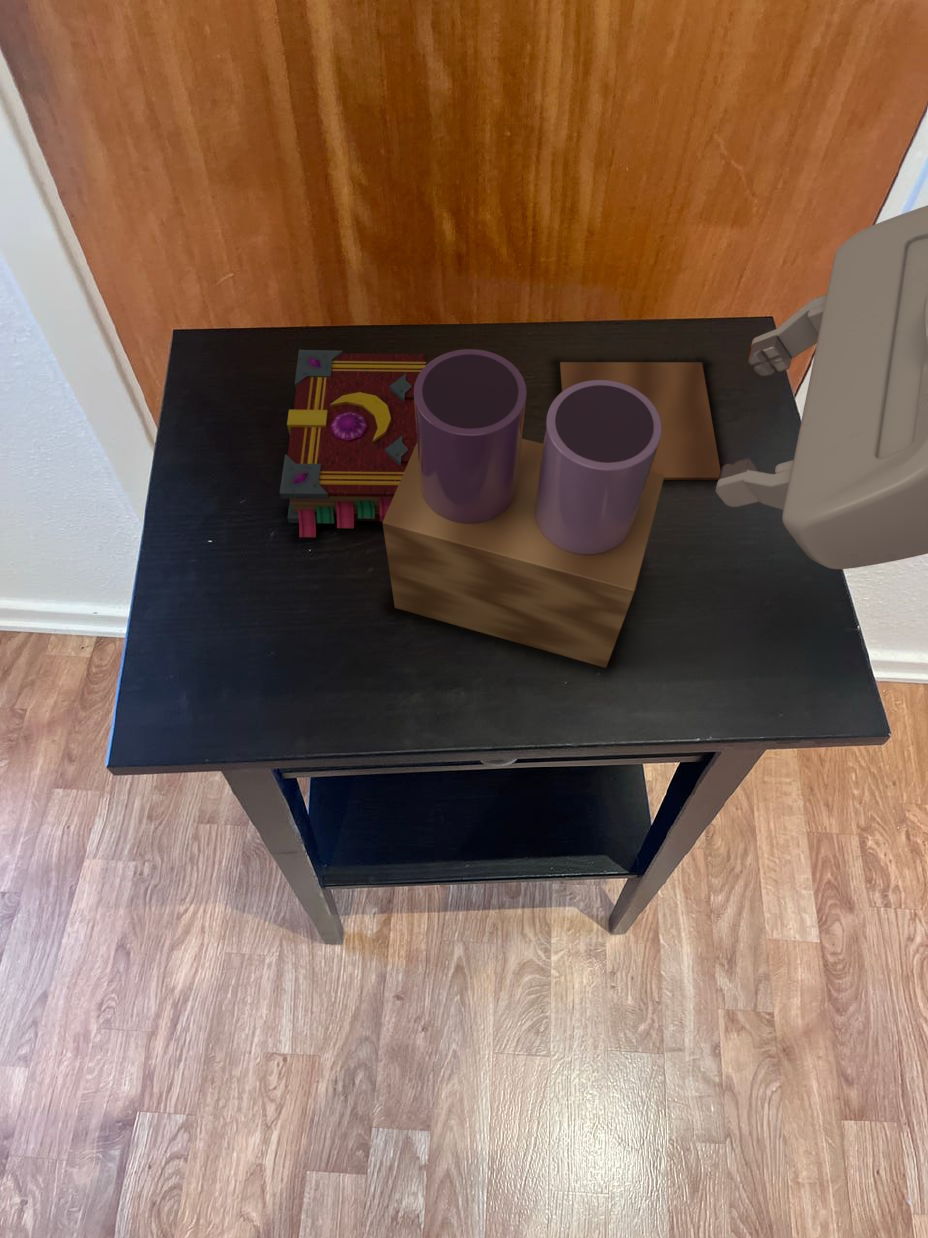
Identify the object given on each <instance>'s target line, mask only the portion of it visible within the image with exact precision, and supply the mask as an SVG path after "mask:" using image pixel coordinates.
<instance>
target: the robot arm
mask: <svg viewBox="0 0 928 1238" xmlns="http://www.w3.org/2000/svg"><path fill="white" fill-rule="evenodd" d="M833 255H834V256H833V260H832V265H831V270H830V276H829V281H828V285H827V292H826V294H823V295H821V296H818V297H816V298H813V299H811V300H810V301H808V302H807V303H805V305H803V306H802V307H801V308H799V309H798V310H797V311H796V312H794V313H793V314H792V316H790V317H789V318H788V319H786V320H785V321H784V322H783V323H782V324H780V325H779V327H778V328H775V329H773V330H770V331H768V332H765V333H763V334H759V335H758V336H755V337H754V338H753V339H752V342H751V346H750V348H749V353H748V357H747V361H748V362H747V363H748V364H749V365H750V367H752V368H753V371H754V373H755V374H756V375H757V376H759V377H762V378H767V377H769V376H772V375H773V374H775V373H781V372H784V371H787V370H790V367H791V364H792V361H793V359H794V358H796V357H797V356H799V355H800V354H802V353H804V352H806V350H808V349H810V348H812V347H813V346H815V350H814V354H813V355H814V356H813V360H812V366H811V371H810V376H809V381H808V386H807V390H806V391H807V392H806V396H805V401H804V406H803V411H802V417H801V421H800V427H799V431H798V436H797V440H796V441H797V442H796V446H795V452H794V455H793V459H791V460H788V461H784V462H781V463H777V465H775V468H774V473H770V472H769V473H768V472H763V471H759V470H757V467H756V465H755V464H754V462H753V461H752V460H751V459H750V458H749V457H747V458H743V459H740V460H736V461H735V462H734V463H732V464H731V463H726V464H724V465H722V466H721V467H720V470H721V472H720V475H719V479H718V480H717V483H716V486H715V493H716V495H717V496H718V498H719V499H720V500H721V501H722V502H723V503H724V504H725V505H726V506H728V507H731V508H738V507H742V506H746V505H751V504H755V503H760V504H762V505H766V506H769V507H772V508H775V509H777V510H781V511H782V517H781V518H782V519H781V521H782V524H783V525H784V528H785V529H786V531H787V532H788V533H789V534H790V536H791V538H792V539H793V540H794V541H795V542H796V544H797V545H798V546H799V548H800V549H801V550H802V551H803V552H804V553H805V555H806V556H807V557H808V558H809V559H810V560H812V561H814V562H815V563H817V564H819V565H821V566H823V567H825V568H827V569H831V570H849V569H856V568H862V567H863V568H864V567H869V566H874V565H881V564H886V563H891V562H896V561H901V560H906V559H911V558H915V557H919V556H923V555H928V204H927V205H924V206H921V207H919V208H915V209H913V210H910V211H907V212H904V213H901V214H899V215H896V216H893V217H890V218H888V219H886V220H883V221H880V222H878V223H875V224H873V225H870V226H867V227H865V228H863V229H861V230H859V231H857V232H855V233H854V234H853V235H852V236H850V237H849V238H848V239H847V240H846V241H844V242H843V243H842V244H840V246H839V247H838V248H836V251H835V252H834V254H833Z"/></svg>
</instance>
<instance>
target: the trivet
mask: <svg viewBox="0 0 928 1238" xmlns="http://www.w3.org/2000/svg"><path fill="white" fill-rule="evenodd" d="M559 372H560V373H559V374H560V387H561V392H563V391H564V390H566V389H567V388H569V387H571V386H573V385H575V384H578V383H581V382H585V381H591V380H608V381H615V382H619V383H622V384H625V385H628V386H630V387H632V388H634V389H636V390H637V391H639V392H641V393H642V394H643V395H644V396H646V397H647V398H648V399H649V400H650V401H651V402H652V404H653V405H654V406H655V408H656V410H657V411H658V414H659V416H660V419H661V424H662V434H661V439H660V442H659V445H658V448H657V451H656V455H655V458H654V461H653V464H652V467H651V470H650V471H653V472H657V473H661V474H664V475H665V476H664V480H663V481H718V479H719V475H720V472H721V466H720V464H721V463H720V460H719V454H718V448H717V441H716V436H715V430H714V423H713V419H712V418H713V417H712V413H711V407H710V401H709V395H708V389H707V383H706V378H705V371H704V365H703V362H702V361H700V362H699V361H692V362H691V361H690V362H689V361H683V362H681V361H679V362H678V361H654V362H653V361H648V362H647V361H560V362H559Z"/></svg>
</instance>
